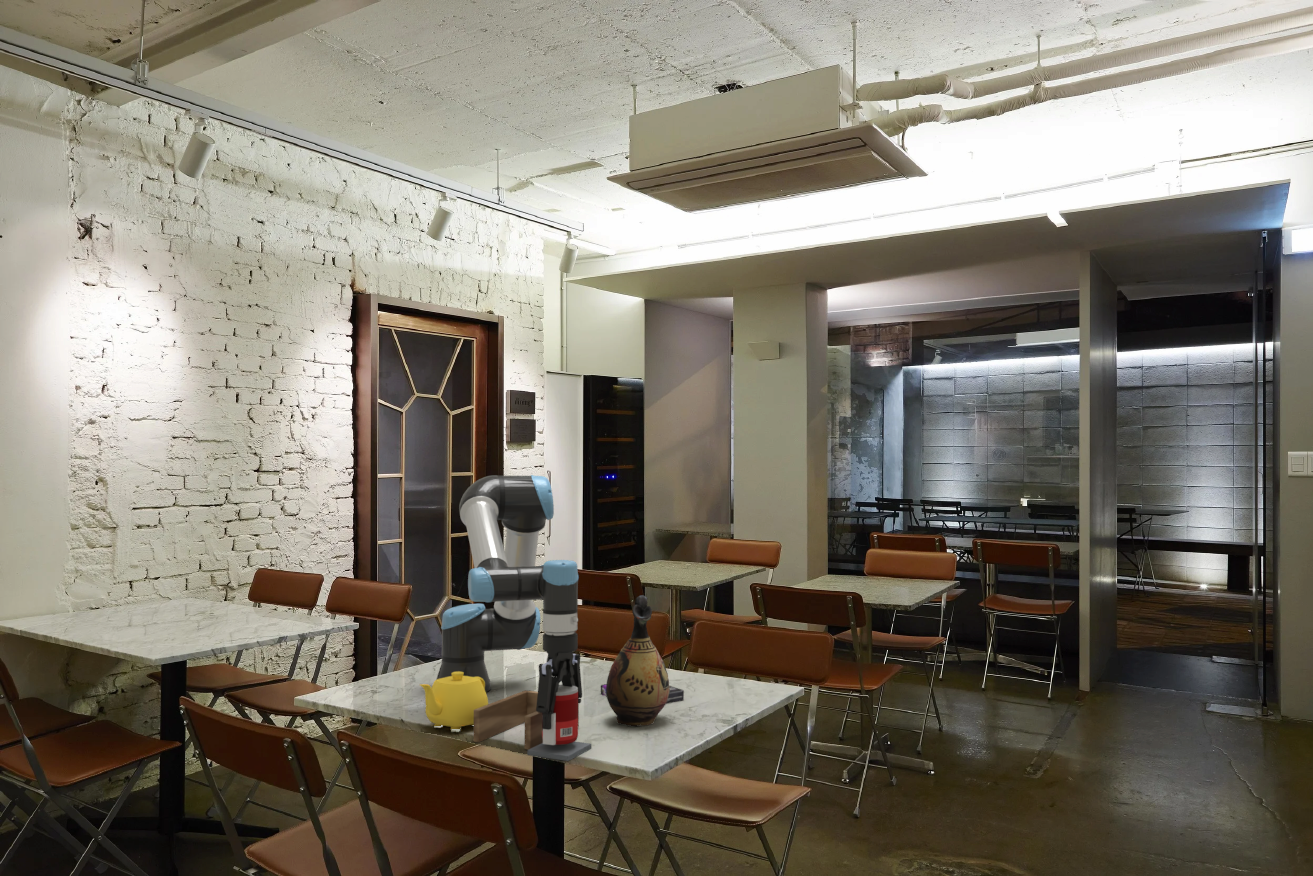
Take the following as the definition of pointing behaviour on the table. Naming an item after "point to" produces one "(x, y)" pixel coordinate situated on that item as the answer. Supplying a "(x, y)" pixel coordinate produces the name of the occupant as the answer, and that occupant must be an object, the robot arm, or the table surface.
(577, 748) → the coaster
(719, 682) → the table surface
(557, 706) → the canned food
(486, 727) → the shelf
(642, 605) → the ceramic jug
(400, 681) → the table surface
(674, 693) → the box
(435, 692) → the teapot
